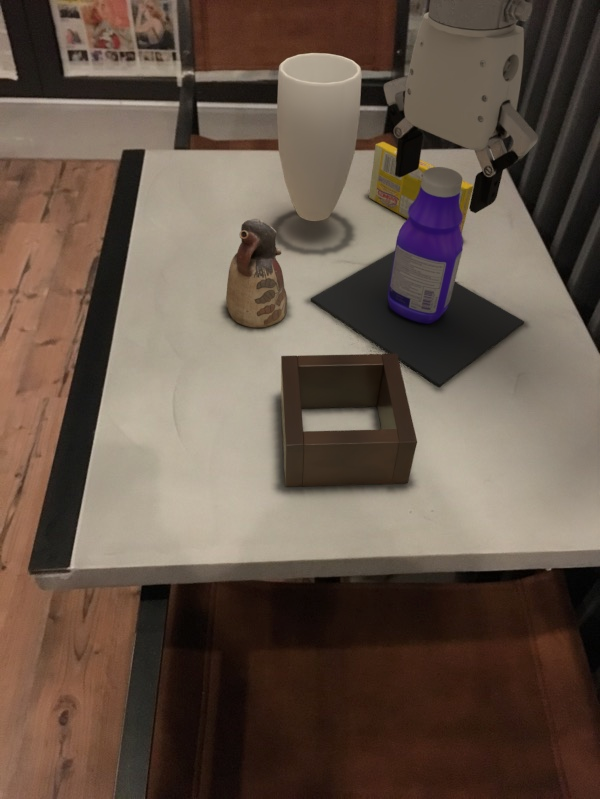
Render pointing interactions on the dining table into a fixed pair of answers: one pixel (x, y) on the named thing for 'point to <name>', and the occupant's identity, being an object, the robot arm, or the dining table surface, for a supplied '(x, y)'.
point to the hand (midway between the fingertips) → (442, 189)
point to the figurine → (256, 278)
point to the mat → (412, 341)
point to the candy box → (403, 183)
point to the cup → (317, 128)
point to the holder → (347, 449)
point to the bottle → (428, 249)
